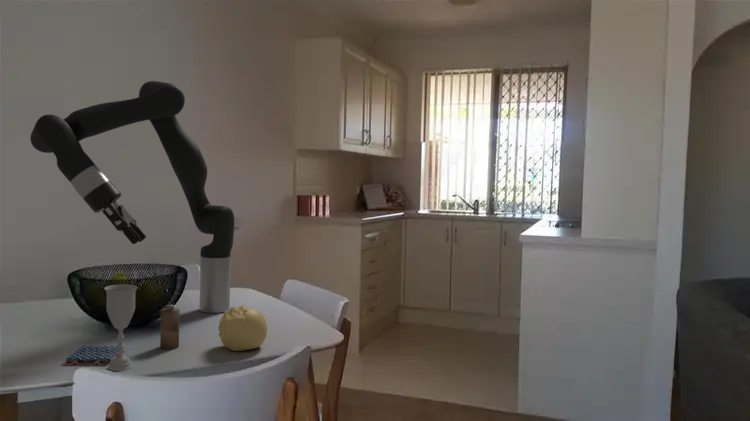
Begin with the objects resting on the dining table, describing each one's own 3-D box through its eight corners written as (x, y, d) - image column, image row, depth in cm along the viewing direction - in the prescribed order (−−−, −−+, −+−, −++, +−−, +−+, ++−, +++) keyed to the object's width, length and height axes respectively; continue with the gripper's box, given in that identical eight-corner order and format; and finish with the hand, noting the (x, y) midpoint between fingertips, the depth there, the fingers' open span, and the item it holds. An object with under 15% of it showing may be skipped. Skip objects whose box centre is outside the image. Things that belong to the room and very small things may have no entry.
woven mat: (62, 367, 133) (62, 358, 133) (81, 353, 143) (81, 344, 143) (110, 367, 134) (110, 358, 134) (126, 353, 144) (126, 345, 144)
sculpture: (217, 342, 155) (218, 301, 154) (264, 340, 158) (265, 300, 157) (218, 355, 144) (219, 311, 143) (268, 353, 147) (269, 310, 146)
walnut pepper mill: (163, 344, 151) (164, 303, 151) (180, 344, 151) (181, 303, 151) (157, 349, 147) (158, 307, 146) (175, 349, 147) (176, 307, 146)
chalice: (110, 361, 136) (111, 284, 135) (141, 362, 137) (142, 284, 136) (98, 372, 129) (99, 290, 128) (130, 372, 130) (131, 291, 128)
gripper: (102, 178, 138) (148, 232, 140) (114, 180, 152) (156, 230, 154) (75, 198, 136) (122, 252, 139) (89, 198, 150) (132, 248, 153)
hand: (140, 240), depth 146 cm, fingers open, 8 cm apart
